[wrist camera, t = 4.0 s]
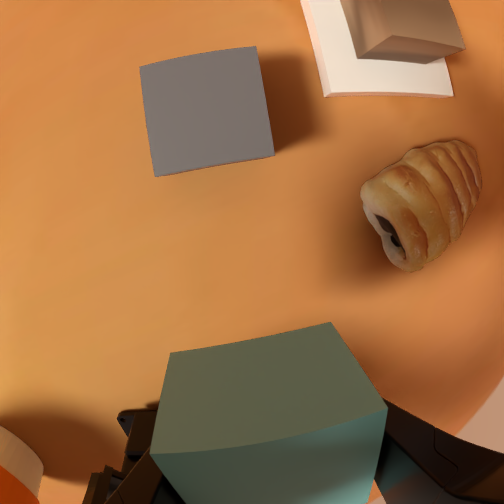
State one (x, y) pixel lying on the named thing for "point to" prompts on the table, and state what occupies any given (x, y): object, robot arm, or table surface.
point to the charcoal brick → (206, 111)
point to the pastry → (423, 201)
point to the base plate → (365, 61)
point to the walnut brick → (402, 29)
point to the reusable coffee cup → (18, 470)
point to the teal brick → (270, 422)
